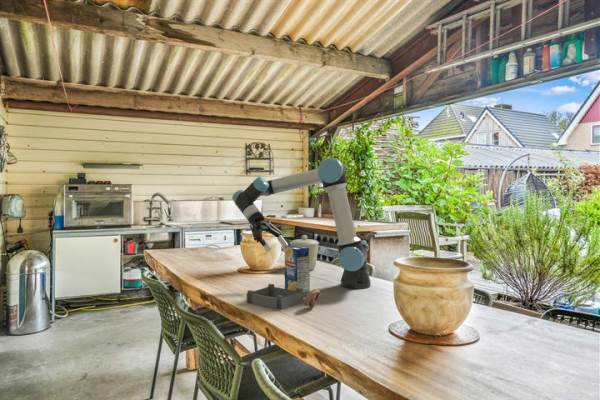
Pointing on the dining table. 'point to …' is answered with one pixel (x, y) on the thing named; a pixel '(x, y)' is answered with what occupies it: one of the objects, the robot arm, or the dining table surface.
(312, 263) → the canister
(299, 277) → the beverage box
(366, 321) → the dining table surface
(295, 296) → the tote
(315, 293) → the mushroom
